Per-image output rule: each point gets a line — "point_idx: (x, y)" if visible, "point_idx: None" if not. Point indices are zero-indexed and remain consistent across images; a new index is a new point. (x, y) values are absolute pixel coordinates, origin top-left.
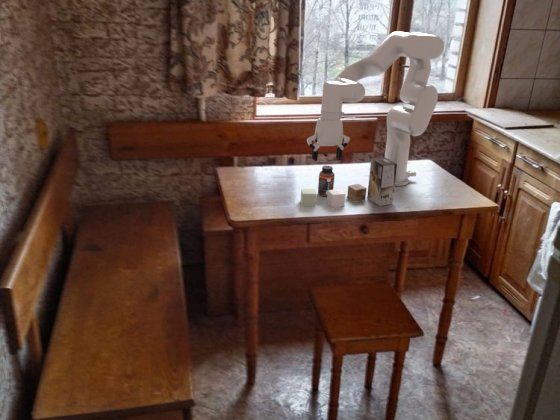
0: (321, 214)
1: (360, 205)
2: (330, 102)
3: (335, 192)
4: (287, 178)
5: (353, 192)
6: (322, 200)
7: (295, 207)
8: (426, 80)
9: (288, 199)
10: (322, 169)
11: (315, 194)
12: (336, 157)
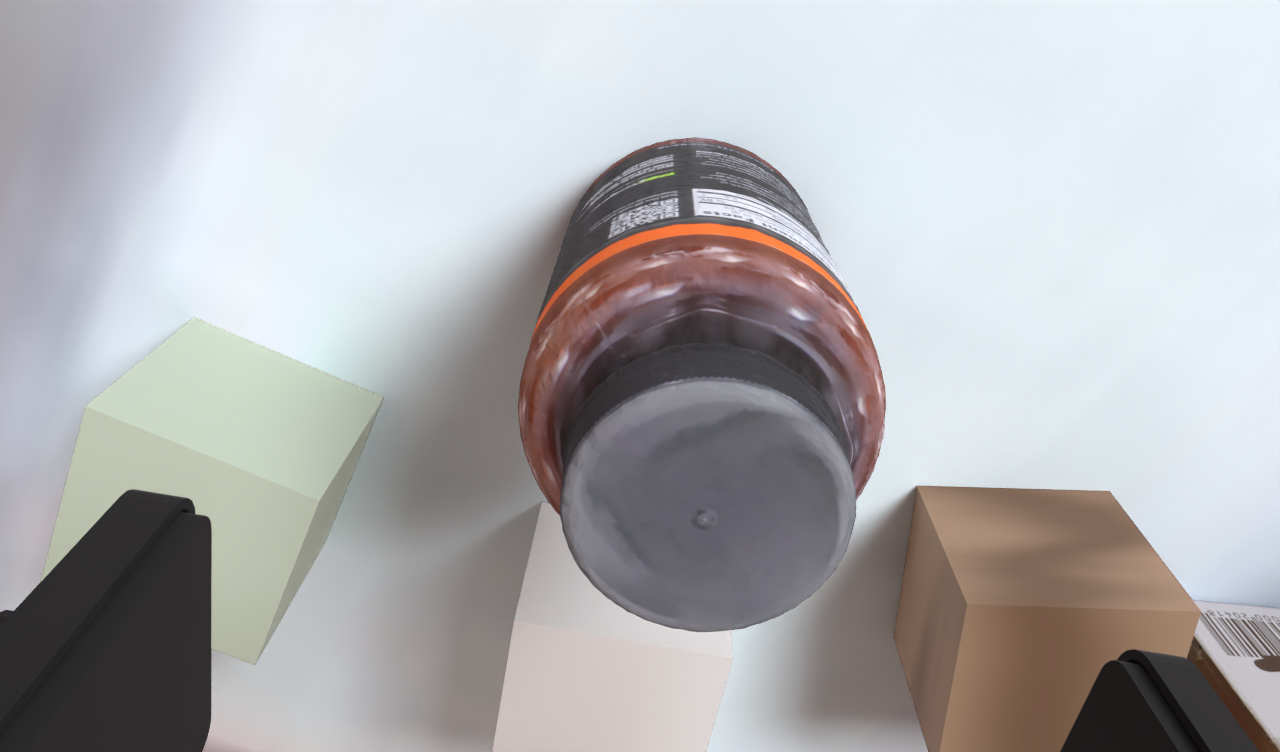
0: (291, 739)
1: (881, 734)
2: None
3: (577, 729)
4: None
5: (927, 688)
6: (514, 432)
7: (43, 474)
8: None
9: (20, 193)
10: (564, 459)
11: (247, 656)
12: (1100, 719)
